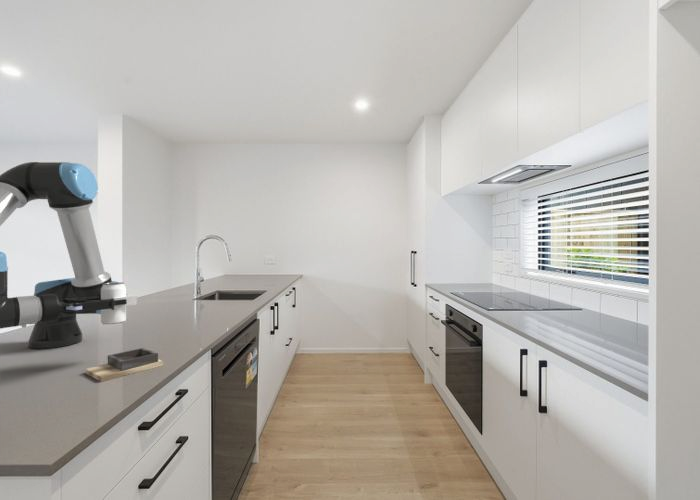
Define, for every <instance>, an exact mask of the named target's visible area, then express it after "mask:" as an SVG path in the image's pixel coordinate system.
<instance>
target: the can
mask: <svg viewBox="0 0 700 500" xmlns="http://www.w3.org/2000/svg"><path fill="white" fill-rule="evenodd" d="M116 282H117V283H104V284H103V286H102V288H101V300H105V299H113V298H119V297H126V294H127V287H126V286H125V282H119V281H116ZM126 321H127V306H121V307H114V310H112V309H103V310H101V314H100V322H101V324H102V325H115V324H122V323H125V322H126Z"/></svg>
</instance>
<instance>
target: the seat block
mask: <svg viewBox="0 0 700 500" xmlns="http://www.w3.org/2000/svg"><path fill="white" fill-rule="evenodd" d="M161 366H162V367H163V366H164V361H163V360H162V359H160V358H159V353H158V352H155V351H152V350H150V349H147V348H145V347H141V348H136V349H132V350H126V351H122V352H118V353H113V354H109V355H107V363H104V364H100V365H96V366H91V367H88V368H85V369H84V370H85V374H87V375H88V376H90V377H92V378H94V379H95V380H97V381H99V382H100V383H102V382H105V381H110V380H114V379H117V377H118V378H122V377H125V376H129V375H132V374H136V373H139V372H143V371H146V370H151V369H155V368H158V367H161ZM128 374H129V375H128ZM124 375H125V376H124Z"/></svg>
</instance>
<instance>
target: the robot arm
mask: <svg viewBox="0 0 700 500" xmlns="http://www.w3.org/2000/svg"><path fill="white" fill-rule="evenodd" d="M98 190H99V187H98V181H97V179H96V177H95V174H94V173H93V172H92V170H91V169H90V168H88V167H87V166H86V165H84V164H82V163H76V162H68V161H67V162H66V161H65V162H64V161H63V162H61V161H59V162H57V161H55V162H54V161H51V162H50V161H49V162H48V161H47V162H45V161H42V162H39V161H29V162H24V163H21V164H18V165H16V166H13V167H12V168H10V169H9V168H8V170H6V171H4V172H2V174H0V227H1V226H2V225H3V224H4V223H5V222H6V221H7V220H8V218H9V217H11V215H12V214H13V213H14V212H15V210H17V209H21V208H23V207H25V206H26V204H27V203H29V202H31V201H35V200H47V203H48V206H49V209H52V210H53V211H55V212H57V213H56V214H57V217H58V220H59V223H60V227H61V228H60V229H61V231H62V234H63V239H64V241H65V246H66V249H67V253H68V256H69V259H70V262H71V267H72V270H73V271H72V272H73V275H74V277H70V278H62V279H55V280H46V281H39V282H38V283H36V284H35V285H34V293H33V295H24V296H16V297H8V275H9V274H8V272H9V271H8V270H9V266H8V261H7V254H6V253H5V252H3V251H0V330H1V329H6V328H14V327H19V326H21V328H26V327H27V325H33V329H32V331H31V334H30V336H29V337H28V348H29V349H35V350H36V349H37V350H39V349H40V350H41V349H42V350H43V349H44V350H45V349H56V348H61V347H66V346H70V345H75V344H78V343H80V342H82V341H83V333H82V330H81V327H80V325H79V323H78V320H77V315H95V314H97V315H101V310H103V309H112V310H114V307H121V306H126V307H127V306H136V305H138V296H137V295H128V294H129V293H126V297H119V298H113V299H105V300H101V288H102V286H103V284H104V283H117V282H118V281H116V280H112V276H111V274H110V273H109V272H107V271H105V268H104V265H103V264H104V263H103V259H102V256H101V252H100V251H101V250H100V248H99V244H98V239H97V235H96V231H95V227H94V223H93V219H92V216H91V212H90V207H91V206H92V205H93V204H94V201H93V200H94V199H95V198H96V197H97V195H98V193H99V192H98Z"/></svg>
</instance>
